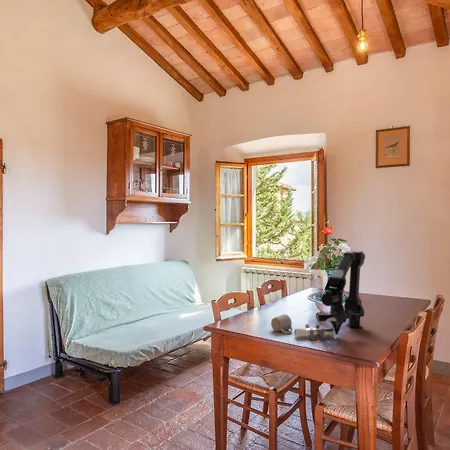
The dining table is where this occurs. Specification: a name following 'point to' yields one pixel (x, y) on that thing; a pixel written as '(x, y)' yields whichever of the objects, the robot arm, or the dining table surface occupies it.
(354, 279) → the robot arm
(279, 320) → the ceramic mug
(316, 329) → the tube
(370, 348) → the dining table surface
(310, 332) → the collar rig
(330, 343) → the dining table surface
